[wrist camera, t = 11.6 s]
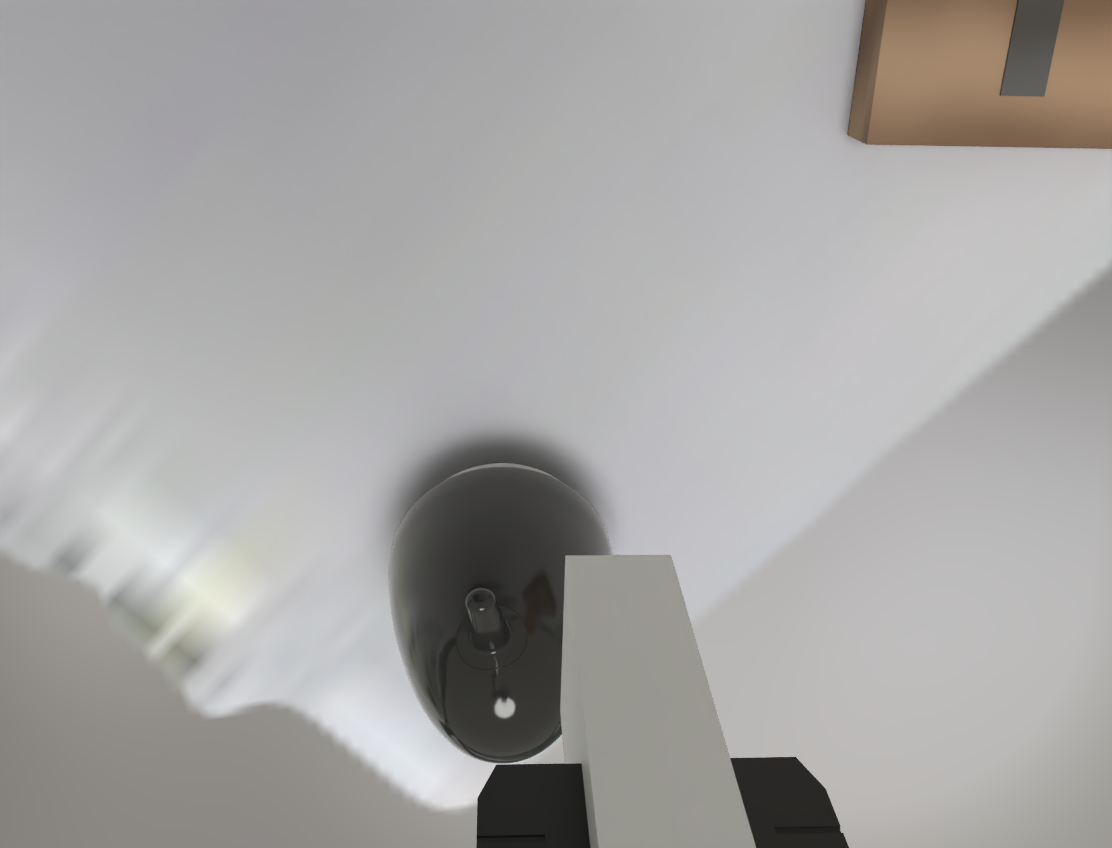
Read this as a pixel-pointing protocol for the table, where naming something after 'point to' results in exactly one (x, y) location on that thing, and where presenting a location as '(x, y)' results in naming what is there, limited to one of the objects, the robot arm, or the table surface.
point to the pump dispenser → (489, 604)
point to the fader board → (985, 73)
